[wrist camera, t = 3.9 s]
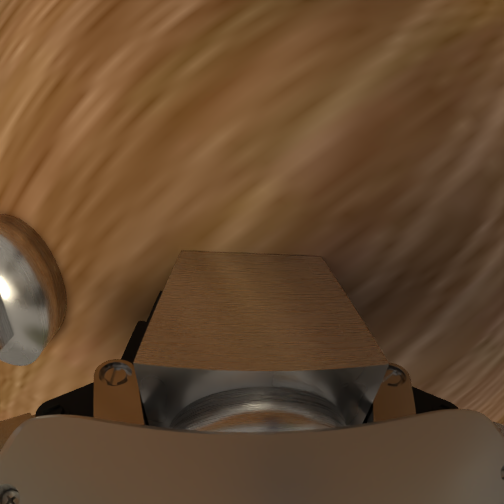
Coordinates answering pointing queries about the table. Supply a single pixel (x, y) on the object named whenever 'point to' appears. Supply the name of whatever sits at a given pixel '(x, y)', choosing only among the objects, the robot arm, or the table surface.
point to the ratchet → (27, 293)
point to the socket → (256, 347)
